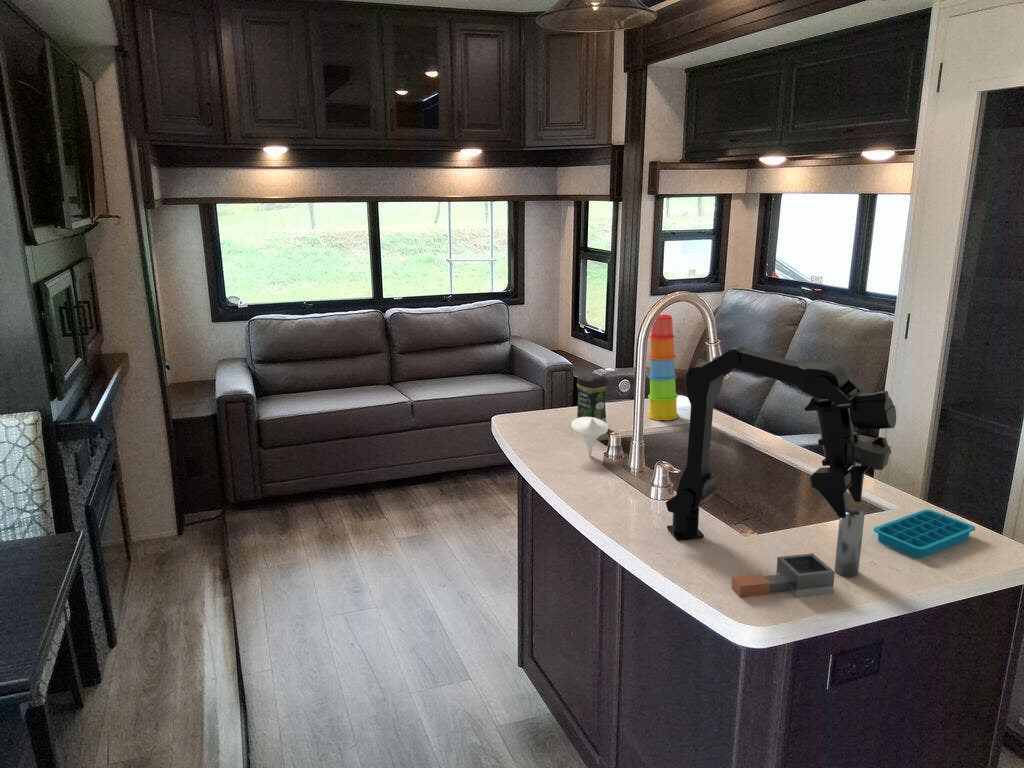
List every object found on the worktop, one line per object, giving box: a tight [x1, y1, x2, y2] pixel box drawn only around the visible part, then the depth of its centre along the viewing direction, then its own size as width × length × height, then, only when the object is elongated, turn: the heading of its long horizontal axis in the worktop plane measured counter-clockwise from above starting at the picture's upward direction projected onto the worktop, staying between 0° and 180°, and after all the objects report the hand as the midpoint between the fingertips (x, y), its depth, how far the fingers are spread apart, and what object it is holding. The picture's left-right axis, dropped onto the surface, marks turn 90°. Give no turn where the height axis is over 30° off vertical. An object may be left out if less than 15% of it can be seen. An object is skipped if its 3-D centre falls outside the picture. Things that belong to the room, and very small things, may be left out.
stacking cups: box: [647, 314, 680, 421], centre depth 249 cm, size 10×10×35 cm
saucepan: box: [731, 552, 836, 598], centre depth 145 cm, size 8×18×4 cm, turn 99°
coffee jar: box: [576, 371, 608, 424], centre depth 240 cm, size 10×8×19 cm
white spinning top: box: [571, 417, 609, 457], centre depth 217 cm, size 10×11×12 cm
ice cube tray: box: [873, 509, 976, 559], centre depth 163 cm, size 12×20×3 cm, turn 119°
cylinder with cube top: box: [834, 506, 865, 579], centre depth 149 cm, size 4×4×14 cm
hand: (850, 509), depth 143 cm, fingers open, 9 cm apart
